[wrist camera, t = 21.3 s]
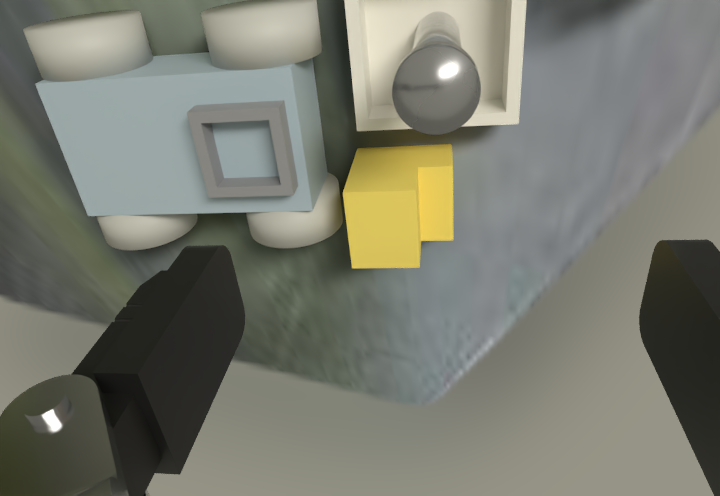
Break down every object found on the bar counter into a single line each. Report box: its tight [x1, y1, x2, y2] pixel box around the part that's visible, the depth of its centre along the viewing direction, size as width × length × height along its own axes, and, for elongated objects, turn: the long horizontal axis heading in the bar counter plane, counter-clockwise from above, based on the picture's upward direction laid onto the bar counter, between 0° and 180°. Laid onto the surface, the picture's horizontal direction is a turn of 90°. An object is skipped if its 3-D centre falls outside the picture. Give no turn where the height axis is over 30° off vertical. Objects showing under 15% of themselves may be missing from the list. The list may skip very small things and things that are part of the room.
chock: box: [343, 144, 453, 268], centre depth 33 cm, size 6×5×6 cm
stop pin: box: [392, 11, 481, 135], centre depth 26 cm, size 3×3×11 cm
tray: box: [344, 0, 527, 131], centre depth 29 cm, size 9×9×3 cm
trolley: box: [23, 0, 343, 250], centre depth 32 cm, size 16×13×7 cm
